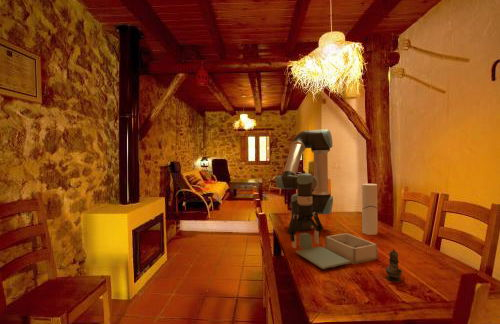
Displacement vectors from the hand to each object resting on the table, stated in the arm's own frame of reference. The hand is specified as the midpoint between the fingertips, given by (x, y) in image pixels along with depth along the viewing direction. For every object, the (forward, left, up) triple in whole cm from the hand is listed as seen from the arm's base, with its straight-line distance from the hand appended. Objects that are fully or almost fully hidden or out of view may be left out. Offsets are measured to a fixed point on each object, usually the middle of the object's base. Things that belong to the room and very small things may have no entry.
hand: (305, 245), depth 138 cm
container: (-9, +53, -3) cm, 54 cm away
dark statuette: (+40, +14, -3) cm, 43 cm away
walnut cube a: (+8, +14, -2) cm, 17 cm away
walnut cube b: (+18, +19, -2) cm, 26 cm away
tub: (+13, +17, -3) cm, 22 cm away
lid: (+11, 0, -3) cm, 11 cm away
